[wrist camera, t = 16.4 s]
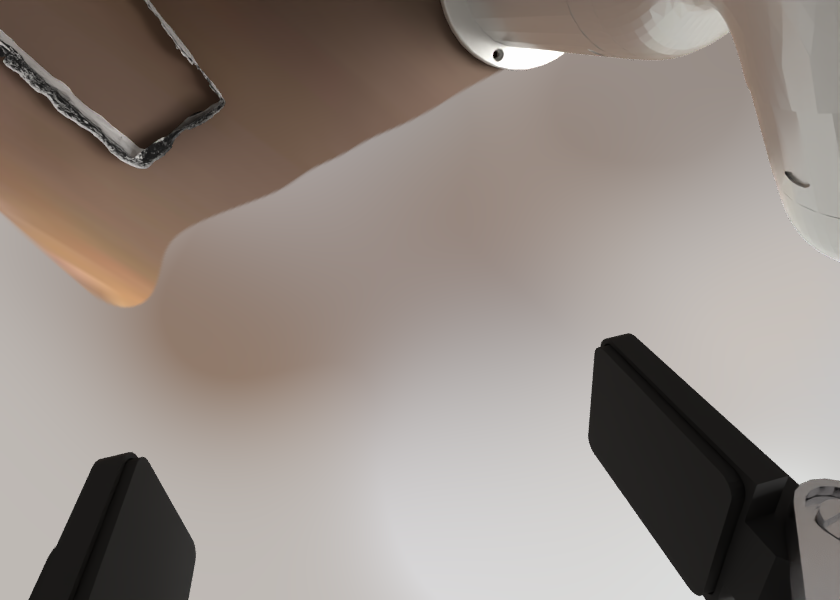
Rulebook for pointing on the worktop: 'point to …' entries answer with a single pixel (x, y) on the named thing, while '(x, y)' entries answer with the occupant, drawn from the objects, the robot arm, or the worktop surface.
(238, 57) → the worktop surface
